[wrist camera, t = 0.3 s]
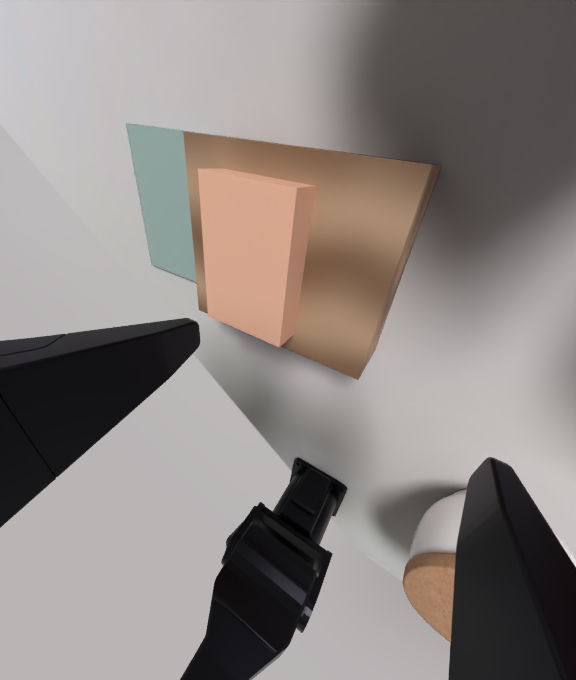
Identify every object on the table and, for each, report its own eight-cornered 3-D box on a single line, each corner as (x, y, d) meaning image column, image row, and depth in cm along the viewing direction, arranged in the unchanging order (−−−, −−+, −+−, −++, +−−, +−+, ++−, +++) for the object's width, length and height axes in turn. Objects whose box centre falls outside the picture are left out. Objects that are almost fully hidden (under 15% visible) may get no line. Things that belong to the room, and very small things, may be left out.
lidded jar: (409, 455, 24) (382, 570, 17) (586, 485, 18) (654, 684, 11) (428, 536, 28) (412, 658, 21) (582, 584, 21) (631, 782, 15)
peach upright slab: (294, 333, 19) (279, 347, 18) (226, 305, 21) (207, 315, 20) (315, 186, 14) (296, 188, 12) (223, 168, 16) (197, 168, 15)
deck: (374, 350, 21) (358, 380, 18) (230, 293, 26) (199, 309, 23) (441, 165, 14) (431, 164, 11) (228, 136, 19) (183, 131, 16)
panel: (226, 292, 26) (224, 293, 26) (153, 263, 30) (151, 264, 30) (222, 136, 19) (219, 135, 19) (129, 123, 23) (125, 123, 23)
